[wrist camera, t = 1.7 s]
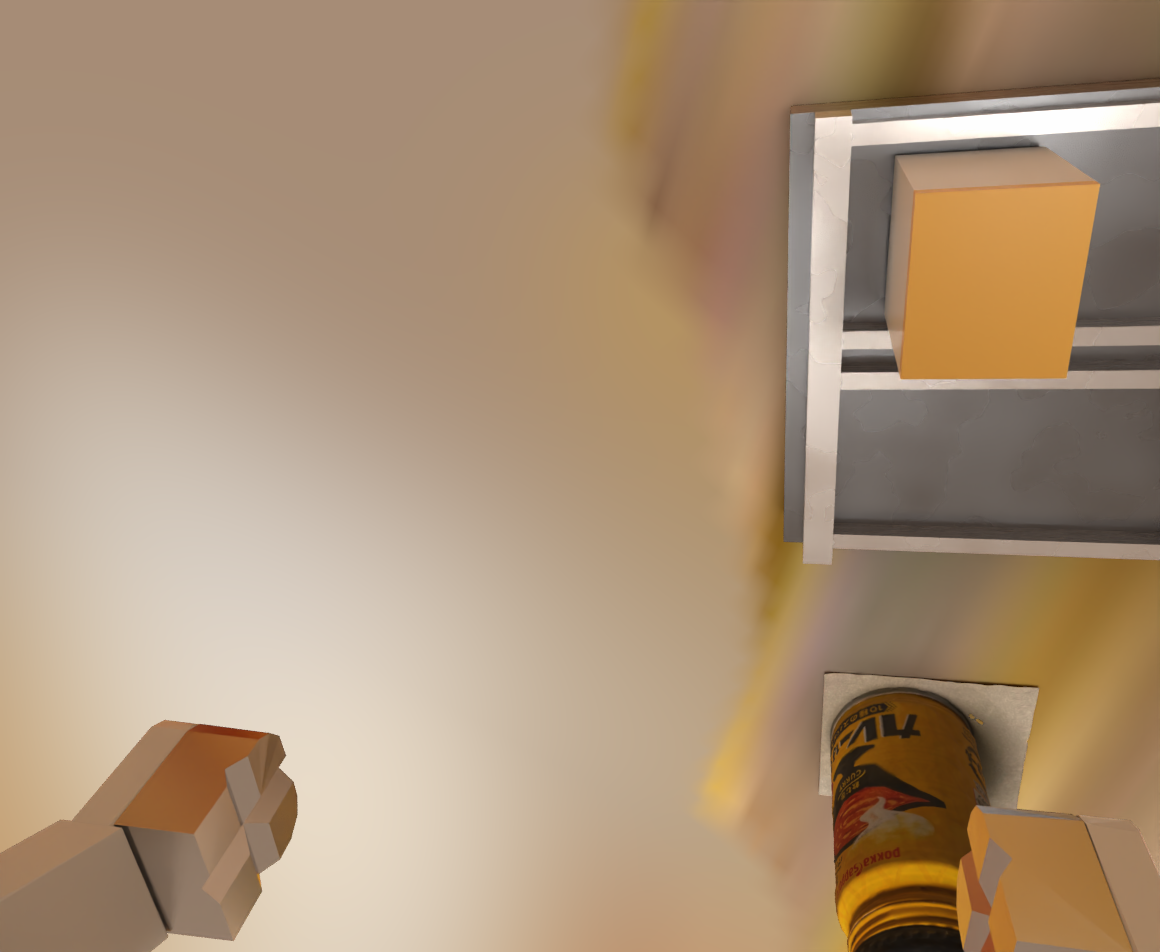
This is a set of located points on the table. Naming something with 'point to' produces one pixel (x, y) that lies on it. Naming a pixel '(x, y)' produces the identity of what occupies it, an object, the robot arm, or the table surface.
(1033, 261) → the fader
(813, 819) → the table surface
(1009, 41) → the table surface
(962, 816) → the condiment
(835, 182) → the grey tray
